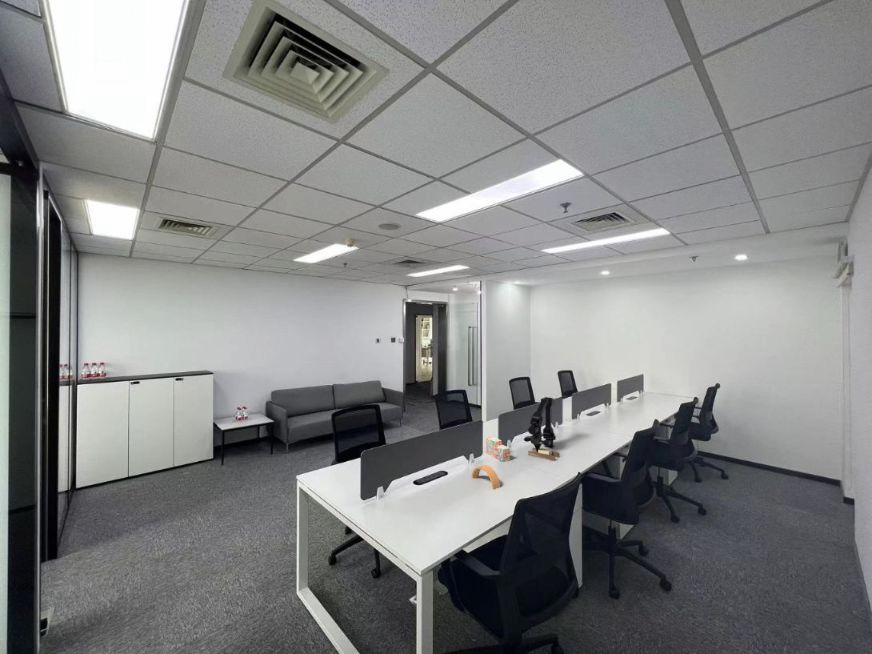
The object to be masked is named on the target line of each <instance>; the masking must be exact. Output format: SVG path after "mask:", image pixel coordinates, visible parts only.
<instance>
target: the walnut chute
mask: <svg viewBox="0 0 872 654" xmlns="http://www.w3.org/2000/svg"><path fill="white" fill-rule="evenodd" d="M527 456H530V457H534V458H538V459H544V460H549V461H553V462H555V461H556V458H560V452H557V451H552V455H547V454H542V453H538V452H537V451H536V448H535V447H532V450H528V451H527Z"/></svg>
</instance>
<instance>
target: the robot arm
mask: <svg viewBox="0 0 872 654" xmlns="http://www.w3.org/2000/svg"><path fill="white" fill-rule="evenodd" d="M554 404H555V399H554V398H553V397H550V396H549V397H548V396H544V397H542V398H541V399H540V402H539V405H538V407H537V409H536V411H535V412H533V414H532V416H531V419H530V423H529V424H530V426H529V427H528V428H527V431H528V434H530V435H532V436H529V435H526V436H525V437H524V439H523V440H524V442H526V443H527V442H530V443H531V444H532V445H534V448H536V451H537V452H538V450H539V449H540V448H542V445H543V446H544V448H548V449H553V448H554V447H556V445H554V441H556V438H557V436H556V435H555V434H556V433H555V430H554V428H553V426H552V425H553V424H552V421H553V420H552V417H553V416H552V410H553V407H554V406H555V405H554ZM544 413H545V414H544ZM543 414H544V415H545V416H543ZM544 417H545V419H544ZM544 420H545V425H544V428H543V429H542V425H543V421H544ZM542 437H543V438H542Z"/></svg>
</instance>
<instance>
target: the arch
mask: <svg viewBox="0 0 872 654" xmlns="http://www.w3.org/2000/svg"><path fill="white" fill-rule="evenodd" d="M481 470H482V471H484V472H485V473H486V475H487V476H488V477H489V479H490V483H491V487H492V490H493V489H494V490H497V489H500V488H501V483H500V478H499V475H498V474H497V472H496V471H495V469H494V468H492V467H491V466H490V465H487V464H483V465H481V466H477V467H475V468H474V469H473V470H472V473H471V479H472V480H473V479H477V478H479V477H480V472H481ZM499 487H500V488H499ZM496 488H497V489H496Z"/></svg>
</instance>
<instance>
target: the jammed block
mask: <svg viewBox="0 0 872 654" xmlns="http://www.w3.org/2000/svg"><path fill="white" fill-rule="evenodd" d="M538 453H542V454H547V455H552V449H550V448H545V447H544V448H542V447H540V449H539V450H538Z"/></svg>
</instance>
